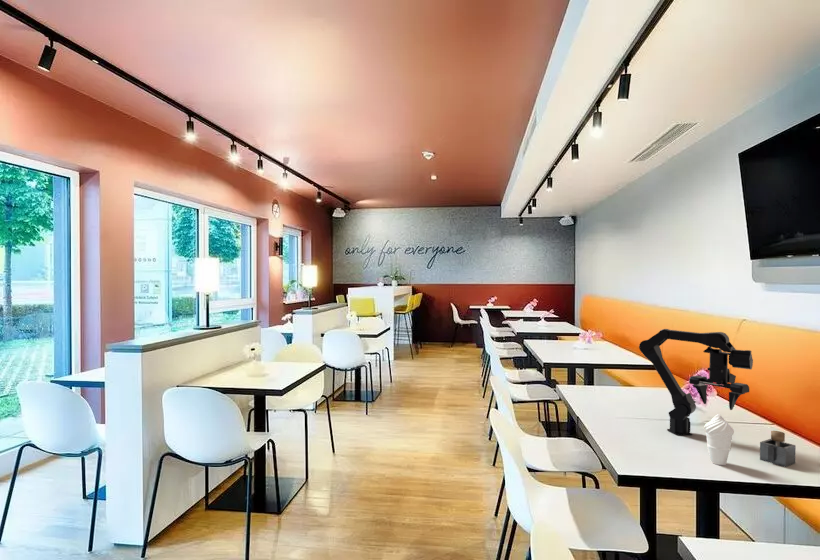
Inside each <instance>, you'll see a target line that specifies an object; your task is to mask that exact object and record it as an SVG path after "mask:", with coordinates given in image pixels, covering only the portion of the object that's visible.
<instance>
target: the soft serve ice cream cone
mask: <svg viewBox="0 0 820 560" xmlns="http://www.w3.org/2000/svg"><path fill="white" fill-rule="evenodd" d="M703 430H704V432H705V436H706V446H707V451H708V455H709V459H710V460H709V461H710V463H712V464H714V465H717V466H726V465H727V463H728V462H727V461H728V459H729V454H730V451H731V450H732V449H731V448H732V447H731V444H732V440H733V436H734V433H735V430H734V428H733V426H731V424H729V422H728V421H726V419H725V418H724V417H723V416H722V415H721V414H719V413H718V414H716V415H714V417H712V418H711V420H710V421H708V422H707V423H705V424H704V427H703Z"/></svg>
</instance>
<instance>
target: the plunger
mask: <svg viewBox="0 0 820 560" xmlns="http://www.w3.org/2000/svg"><path fill="white" fill-rule="evenodd" d="M785 434H786V433H785V432H784V431H783V432H782V431H780V430H770V439H772V440H774V441H776V446H779V447H780V442H785V441H786V439H785V438H786V437H785V436H786V435H785ZM785 443H786V442H785Z"/></svg>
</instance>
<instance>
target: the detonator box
mask: <svg viewBox="0 0 820 560" xmlns="http://www.w3.org/2000/svg"><path fill="white" fill-rule="evenodd" d="M796 452H797V451H796V444H792V443H788V442H780V447H779V446H776V441H774V440H772V439H771V438H769V439H766V440H762V441H760V442H759V460H760V461H763V462H767V463H770V464H772V465H776V466H779V467H782V468H783V467H784V468H787V467H790V466H791V465H792V466H793V465H795V464H796Z"/></svg>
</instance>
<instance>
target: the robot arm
mask: <svg viewBox="0 0 820 560" xmlns="http://www.w3.org/2000/svg"><path fill="white" fill-rule="evenodd" d="M667 340H671V341H672V340H674V341H679V342H680V341H681V342H689V343H697V344H702V345H705V346H707V348H706V349H704V350H703V353H707V354H709V367H707V371H708V372H709V375H708V378H707V376H703V375H692V376H690V377H689V378H688V379H689V380H688V383H689V384H690V385H692V387H694V388H695V389H696V391H697V393H698V395H699V397H700V398H701V401H702V403H703V404H704V405H707V399H708V398H707V394H708V393H707V390H708V386H713V387H714V386H715V387H720V388H725V389H728V390H729V391H728V407H729V410H730V411H732V410H733V409H734V407H735V404H736V402H737V401H738V399H739V397H740V396H741V395H745V394H747V393H750V386H749V384H748V383H743V382H742V383H741V382H736V378H737V376H736V375H735V374H733V373H731V372H730V368H728V365H730V366H732V368H734V369H736V368H737V369H745V370H752V369H753V367H754V366H753V365H754V359H753V354H752V350H750V349H749V350H748V349H746V350H745V349H744V350H743V349H736V347H735V346H734V345H733V344H732V342H730V338H729V335H728V334H727V333H725V332H722V331H717V332H716V331H711V332H695V331H694V332H693V331H685V330H684V331H683V330H677V329H670V328H663V329H660V330H659V331H658V332H657V333H656V334H654V335H652V336H651V337H649V338H648V339H644V340H642V341H640V343H639V346H638V349H639V351H640V353H642V355H643V356H644V357H645V358H646V359H647V360H648V361H650V362H651V364H652V365H653V366H654V368H655V370H656V372H657V374H658V375H659V377H660V379H661V380H662V382H663V384H664V385H665V387H666V389H667V390H668V393H669V394H670V397H671V402H672V406H673V409H672V410H670V411H669V412H668V416H669V428H666V431H668V432H670V433H672V434H674V435H676V436H692V435H693V433H692V432H691V418H690V415H692V413H694V412H695V411H696V409H697V405H696V403H697V401H696V400H695V399H694V398H693V396H692V393H690V392H688V393H686V392H685V391H684V390H683V389H682V388H681V385H680V384H679V383H678V381H677V379H676V377H675V376H674V374H673V373H672V371H671V369H670V367H669V366H668V365H667V362H666V361H665V359H664V357H663V353H662V349H661V347H660V346H662V345H663V344H664V343H665V342H666V341H667Z"/></svg>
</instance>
